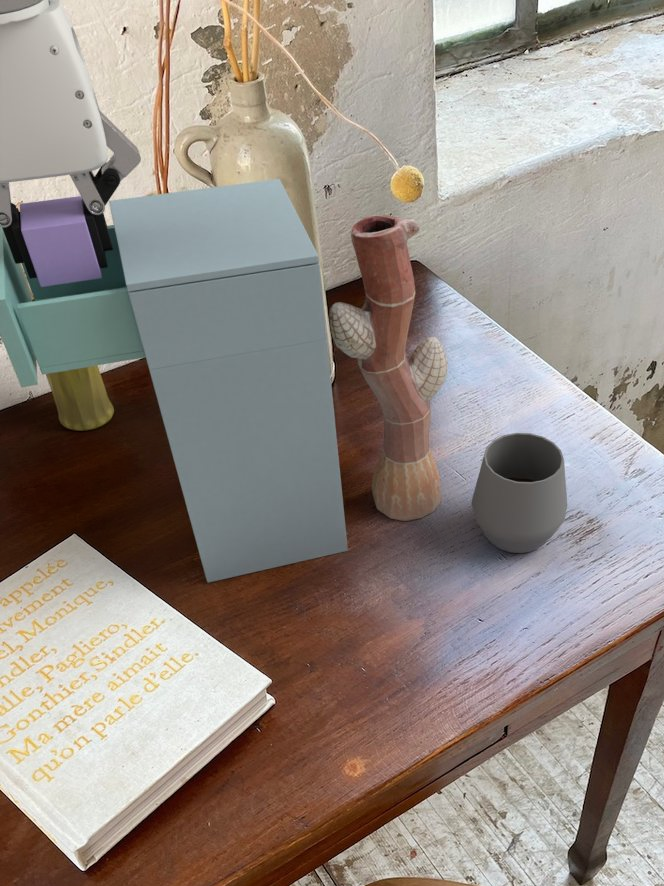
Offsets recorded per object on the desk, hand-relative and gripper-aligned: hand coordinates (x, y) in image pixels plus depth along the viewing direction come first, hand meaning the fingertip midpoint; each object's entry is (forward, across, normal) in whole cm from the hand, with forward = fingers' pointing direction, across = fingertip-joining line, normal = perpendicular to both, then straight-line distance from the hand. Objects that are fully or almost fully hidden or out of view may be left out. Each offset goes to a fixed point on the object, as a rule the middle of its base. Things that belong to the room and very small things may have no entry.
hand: (67, 262), depth 68 cm
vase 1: (+30, +5, -24) cm, 39 cm away
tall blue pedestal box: (+30, -11, 0) cm, 32 cm away
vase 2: (+30, -25, +1) cm, 39 cm away
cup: (+30, -35, +10) cm, 47 cm away
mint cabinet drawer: (+6, +1, 0) cm, 6 cm away
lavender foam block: (+1, 0, 0) cm, 1 cm away
